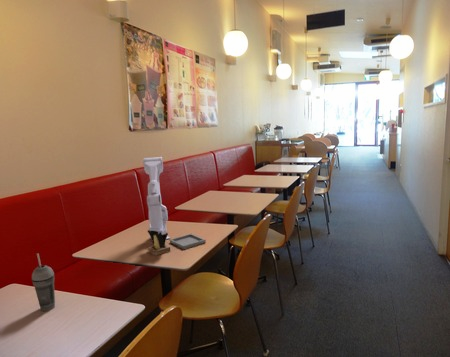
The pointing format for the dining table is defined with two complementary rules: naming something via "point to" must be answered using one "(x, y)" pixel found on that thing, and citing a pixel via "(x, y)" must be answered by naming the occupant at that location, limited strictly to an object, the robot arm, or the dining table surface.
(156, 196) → the robot arm
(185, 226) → the dining table surface
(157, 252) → the socket block
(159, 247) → the pin
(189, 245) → the tray
